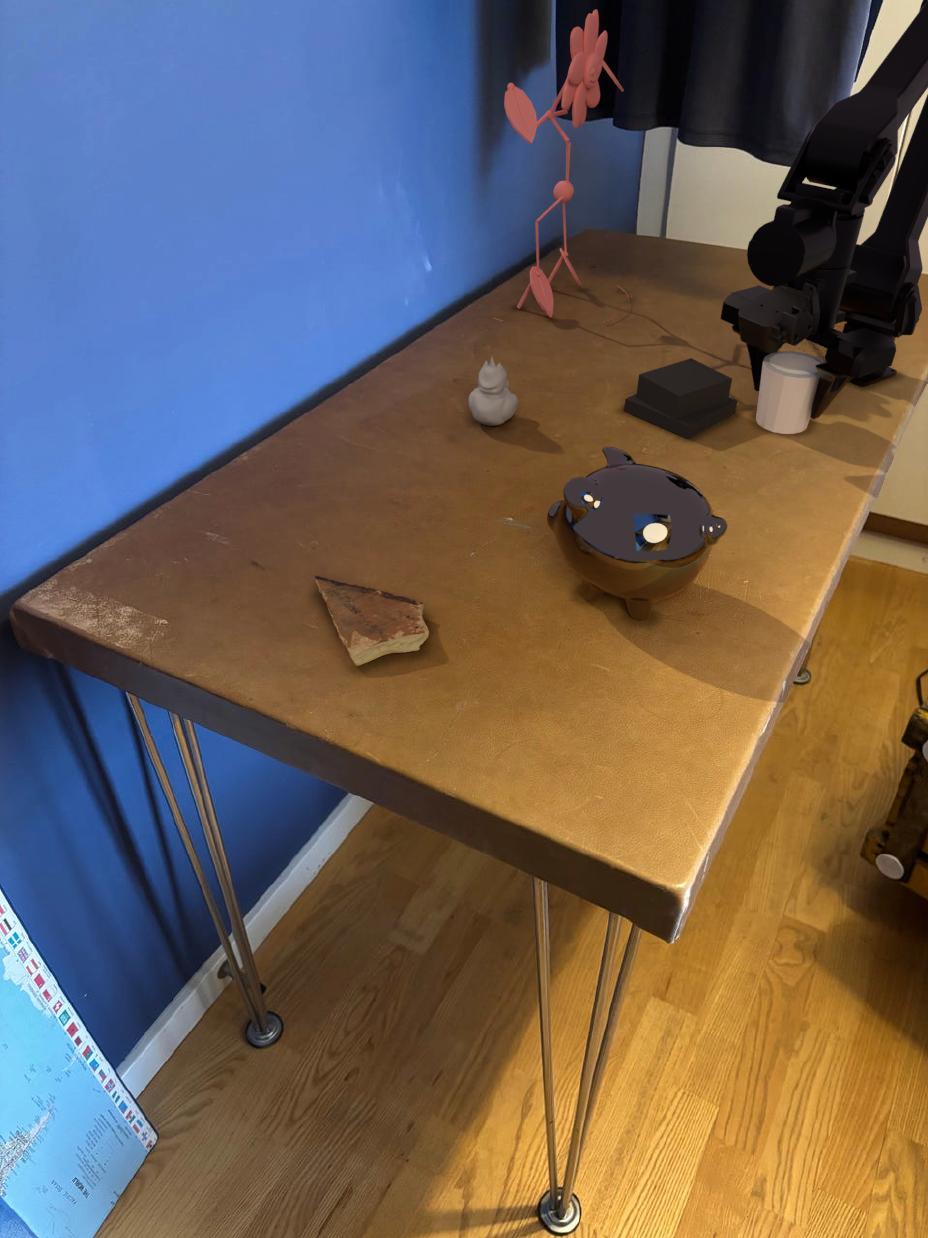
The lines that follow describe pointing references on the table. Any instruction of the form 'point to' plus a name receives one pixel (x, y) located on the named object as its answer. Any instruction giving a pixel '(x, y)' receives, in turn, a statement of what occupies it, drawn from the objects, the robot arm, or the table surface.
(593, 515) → the piggy bank
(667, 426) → the base pad
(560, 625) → the table surface
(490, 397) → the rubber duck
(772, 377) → the shot glass
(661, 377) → the black pad
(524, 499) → the table surface
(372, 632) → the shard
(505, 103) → the figurine
